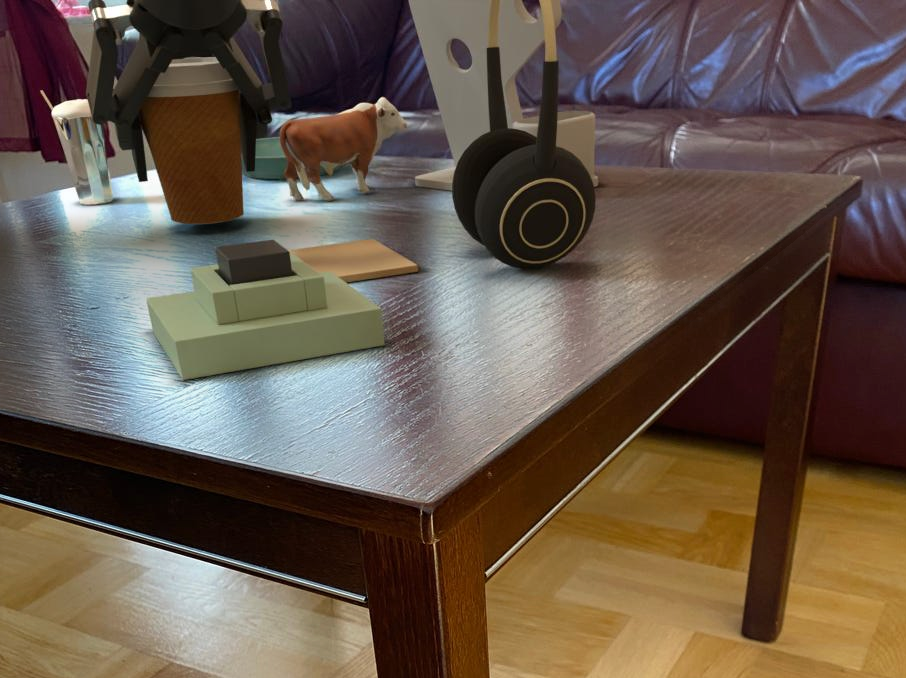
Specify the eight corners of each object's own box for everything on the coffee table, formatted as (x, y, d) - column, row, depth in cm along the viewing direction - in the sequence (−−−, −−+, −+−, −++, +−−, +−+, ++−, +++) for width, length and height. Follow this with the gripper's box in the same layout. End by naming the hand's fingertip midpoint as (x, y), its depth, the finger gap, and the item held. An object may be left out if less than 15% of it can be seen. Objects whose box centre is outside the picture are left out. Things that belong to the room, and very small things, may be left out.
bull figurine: (416, 188, 102) (411, 96, 98) (295, 207, 96) (283, 111, 92) (395, 182, 105) (388, 93, 101) (276, 201, 99) (263, 107, 95)
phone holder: (606, 184, 100) (613, -35, 90) (543, 202, 94) (543, -31, 84) (473, 169, 110) (466, -30, 100) (408, 185, 104) (393, -26, 94)
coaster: (251, 261, 79) (250, 255, 79) (373, 245, 82) (372, 238, 82) (285, 291, 71) (284, 284, 71) (418, 271, 75) (417, 264, 74)
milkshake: (78, 197, 105) (52, 87, 99) (127, 196, 104) (104, 86, 99) (57, 206, 101) (29, 93, 96) (108, 206, 100) (82, 91, 95)
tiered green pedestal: (153, 333, 64) (139, 268, 62) (334, 304, 68) (327, 242, 66) (182, 380, 57) (167, 308, 55) (385, 345, 61) (379, 276, 58)
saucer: (248, 189, 105) (244, 161, 104) (208, 170, 116) (203, 144, 115) (378, 172, 111) (376, 145, 109) (328, 155, 122) (325, 131, 120)
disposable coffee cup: (162, 233, 85) (130, 70, 78) (145, 213, 92) (114, 61, 86) (273, 220, 88) (252, 61, 81) (248, 201, 95) (227, 54, 89)
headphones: (492, 290, 70) (482, -65, 59) (444, 243, 82) (429, -58, 71) (610, 277, 71) (622, -70, 60) (547, 233, 83) (547, -63, 72)
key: (219, 277, 61) (214, 246, 60) (278, 268, 63) (273, 238, 62) (233, 290, 59) (228, 259, 58) (293, 282, 60) (289, 251, 59)
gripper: (29, -5, 66) (77, 213, 87) (351, -19, 72) (322, 188, 93) (5, -102, 67) (58, 136, 88) (324, -108, 73) (302, 117, 94)
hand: (194, 163), depth 91 cm, fingers closed on disposable coffee cup, 9 cm apart
